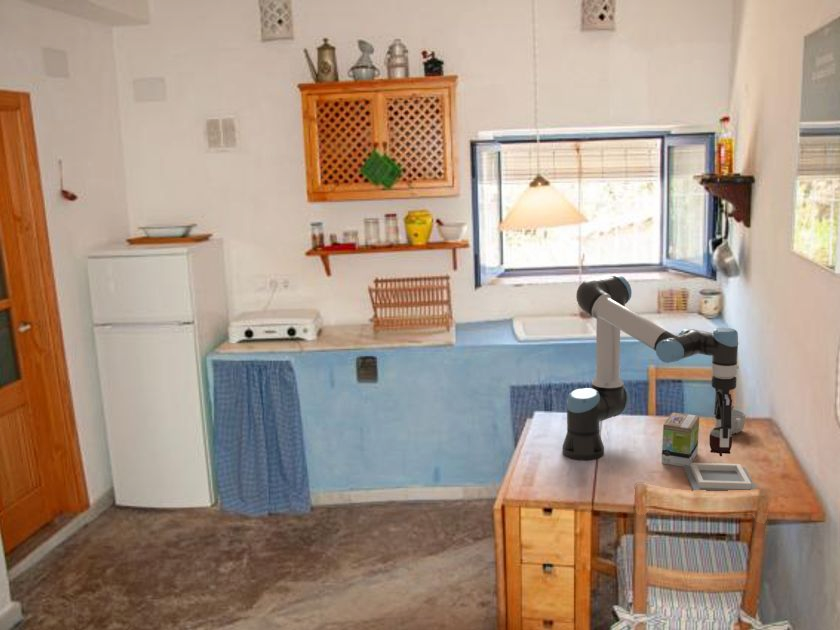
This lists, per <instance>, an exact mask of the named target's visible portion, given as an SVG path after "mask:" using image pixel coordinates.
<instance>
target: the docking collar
mask: <svg viewBox="0 0 840 630" xmlns="http://www.w3.org/2000/svg"><path fill="white" fill-rule="evenodd" d="M683 469H684V472H685V475H686V477H687V479H688V482H689V485H690V487H691V490H692V491H693V490H706V491H728V490H751V489H758V488H757V486H756V484H755V483H754V481H753V479H752V477H751V476H750V474H749V472H748V471H747V469H746V467H745V466H742V465H741V464H740V463H726V462H725V463H724V462H723V463H722V462H721V463H720V462H719V463H717V462H713V463H712V462H692V463H691V465H690V466H684V467H683Z"/></svg>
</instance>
